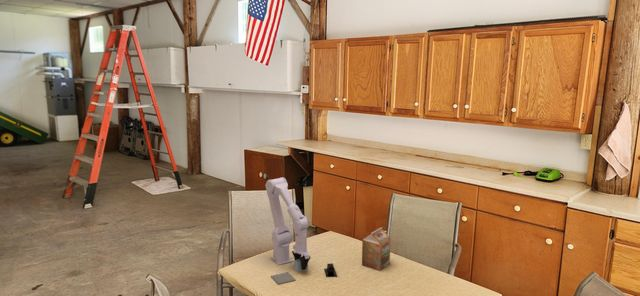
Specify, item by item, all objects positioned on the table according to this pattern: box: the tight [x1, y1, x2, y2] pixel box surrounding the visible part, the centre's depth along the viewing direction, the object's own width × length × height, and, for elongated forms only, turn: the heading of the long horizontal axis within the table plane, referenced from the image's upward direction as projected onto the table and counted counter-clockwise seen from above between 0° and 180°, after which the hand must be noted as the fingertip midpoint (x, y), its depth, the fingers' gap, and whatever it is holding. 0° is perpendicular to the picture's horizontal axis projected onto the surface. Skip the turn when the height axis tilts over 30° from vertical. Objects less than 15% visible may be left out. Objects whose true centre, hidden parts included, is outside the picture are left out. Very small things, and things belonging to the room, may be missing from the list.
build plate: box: [323, 263, 338, 278], centre depth 214 cm, size 12×7×5 cm, turn 6°
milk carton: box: [361, 226, 392, 272], centre depth 222 cm, size 11×11×19 cm
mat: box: [270, 271, 296, 286], centre depth 207 cm, size 9×9×1 cm
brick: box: [293, 259, 309, 273], centre depth 217 cm, size 4×6×5 cm, turn 119°
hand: (300, 266), depth 217 cm, fingers open, 6 cm apart
